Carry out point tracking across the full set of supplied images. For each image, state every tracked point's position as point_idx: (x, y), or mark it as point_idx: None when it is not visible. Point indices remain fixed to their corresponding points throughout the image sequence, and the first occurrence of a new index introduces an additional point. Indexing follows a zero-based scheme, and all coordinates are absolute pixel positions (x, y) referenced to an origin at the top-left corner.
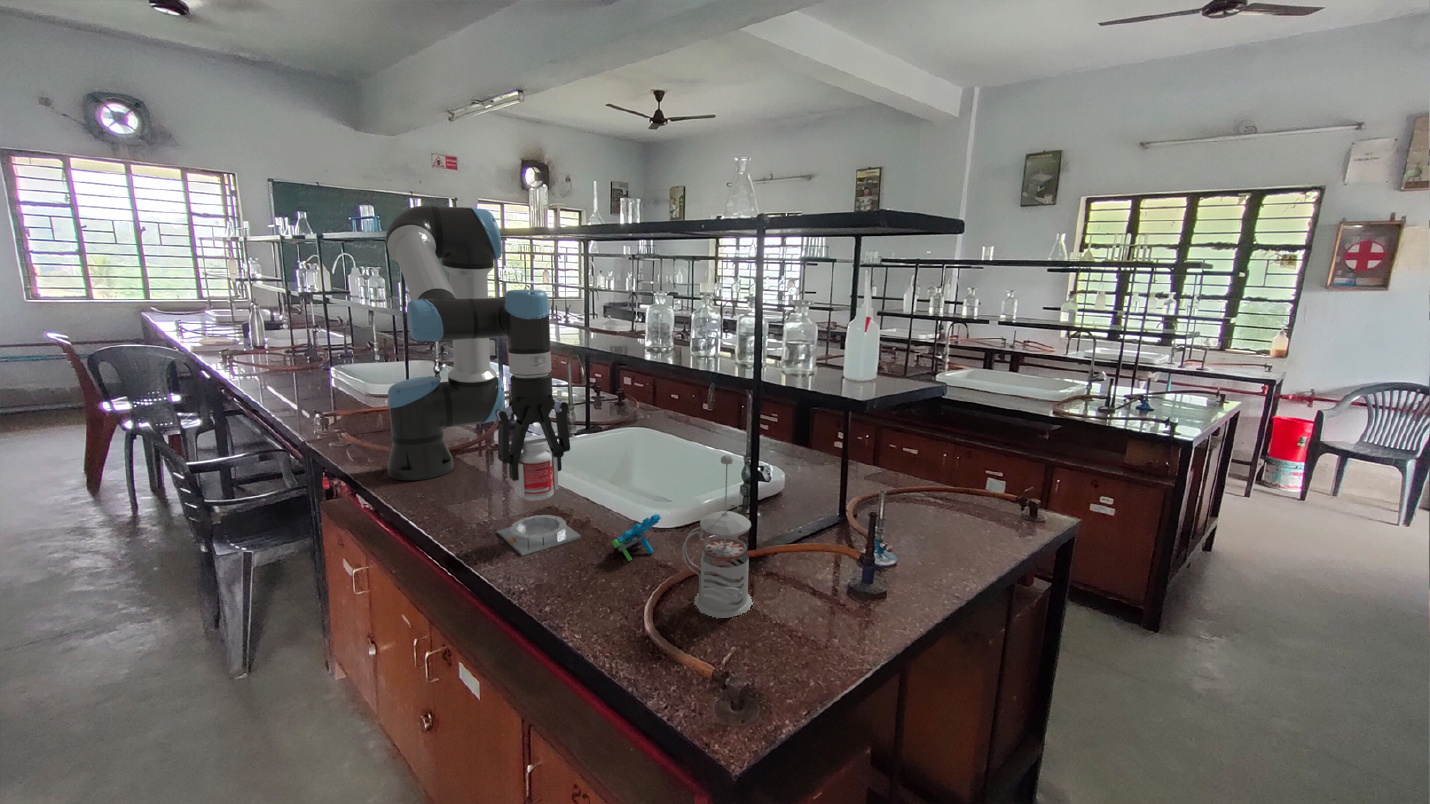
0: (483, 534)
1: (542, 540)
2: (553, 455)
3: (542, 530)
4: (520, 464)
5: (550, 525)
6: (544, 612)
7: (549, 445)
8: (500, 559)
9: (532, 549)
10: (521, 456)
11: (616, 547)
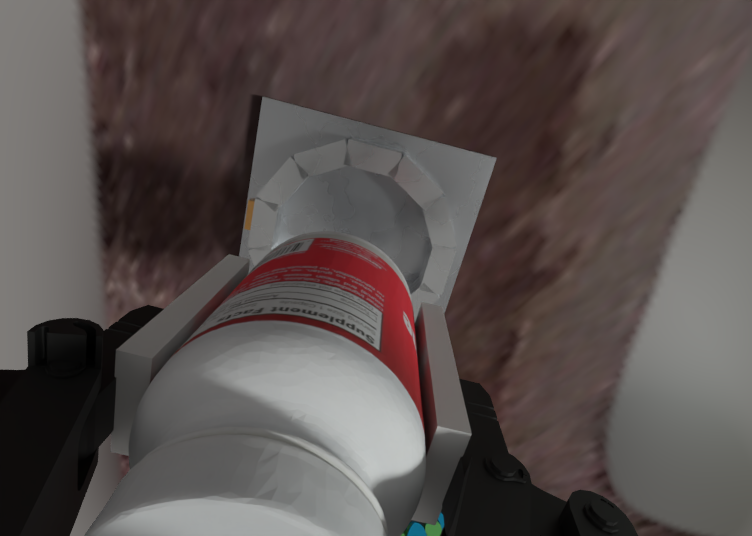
0: (221, 59)
1: None
2: (453, 476)
3: (374, 234)
4: (125, 450)
5: (421, 223)
6: None
7: (451, 534)
8: (176, 275)
9: None
10: (130, 457)
11: None
